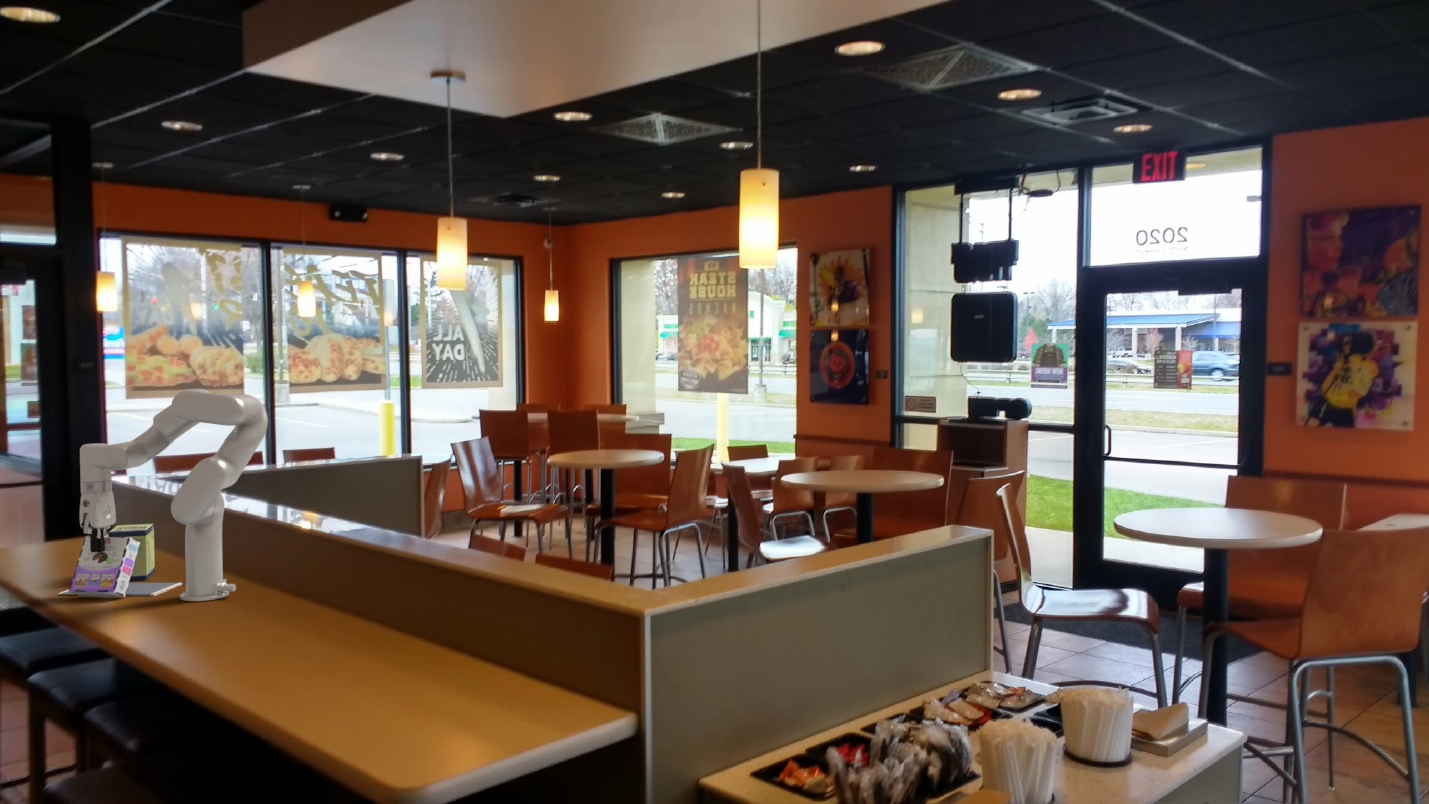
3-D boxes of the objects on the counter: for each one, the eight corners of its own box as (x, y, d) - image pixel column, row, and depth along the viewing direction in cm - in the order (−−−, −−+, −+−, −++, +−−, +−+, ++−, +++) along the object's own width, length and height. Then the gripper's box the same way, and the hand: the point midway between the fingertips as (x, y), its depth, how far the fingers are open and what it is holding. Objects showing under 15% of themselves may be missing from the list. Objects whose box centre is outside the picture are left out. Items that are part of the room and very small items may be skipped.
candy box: (125, 598, 295) (141, 542, 302) (113, 592, 290) (129, 536, 297) (80, 597, 297) (97, 541, 304) (67, 591, 291) (84, 535, 298)
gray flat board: (182, 584, 312) (182, 582, 312) (153, 596, 297) (153, 594, 297) (90, 584, 313) (90, 582, 313) (57, 595, 298) (57, 593, 298)
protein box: (155, 570, 333) (154, 522, 333) (147, 580, 319) (146, 530, 318) (118, 573, 330) (117, 524, 329) (108, 583, 315) (107, 532, 315)
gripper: (93, 490, 286) (94, 556, 286) (124, 484, 300) (126, 547, 301) (66, 490, 286) (67, 556, 286) (99, 484, 301) (100, 547, 301)
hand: (97, 551), depth 294 cm, fingers closed
